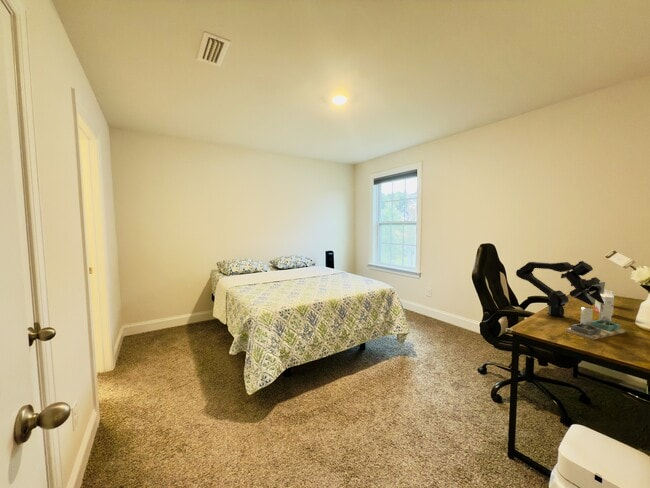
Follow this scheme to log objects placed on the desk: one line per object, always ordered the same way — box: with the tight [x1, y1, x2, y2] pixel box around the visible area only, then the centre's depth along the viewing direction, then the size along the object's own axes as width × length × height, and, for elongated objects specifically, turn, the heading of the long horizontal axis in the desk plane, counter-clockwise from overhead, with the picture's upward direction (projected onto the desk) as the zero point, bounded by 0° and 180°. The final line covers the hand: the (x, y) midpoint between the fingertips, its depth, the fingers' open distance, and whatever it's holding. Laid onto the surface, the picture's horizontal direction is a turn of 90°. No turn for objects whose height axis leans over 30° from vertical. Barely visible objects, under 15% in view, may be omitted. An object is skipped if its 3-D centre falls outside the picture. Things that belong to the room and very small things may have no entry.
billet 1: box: [579, 306, 594, 330], centre depth 146 cm, size 4×4×12 cm
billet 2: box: [598, 304, 612, 326], centre depth 151 cm, size 4×4×12 cm
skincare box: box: [587, 280, 606, 305], centre depth 200 cm, size 8×7×16 cm
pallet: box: [564, 319, 626, 341], centre depth 149 cm, size 27×12×4 cm, turn 108°
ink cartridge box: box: [594, 288, 615, 317], centre depth 177 cm, size 9×5×15 cm, turn 168°
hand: (597, 304), depth 154 cm, fingers open, 9 cm apart
